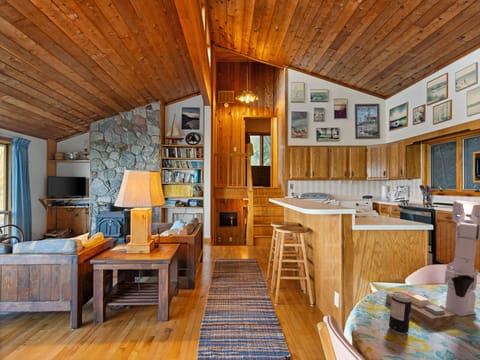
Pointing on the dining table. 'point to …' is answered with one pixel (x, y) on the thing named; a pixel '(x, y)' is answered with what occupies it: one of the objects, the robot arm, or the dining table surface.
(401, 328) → the beverage can
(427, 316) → the brown slotted tray
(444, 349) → the dining table surface
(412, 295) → the red key
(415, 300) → the ivory key
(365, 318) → the dining table surface
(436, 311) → the grey block
